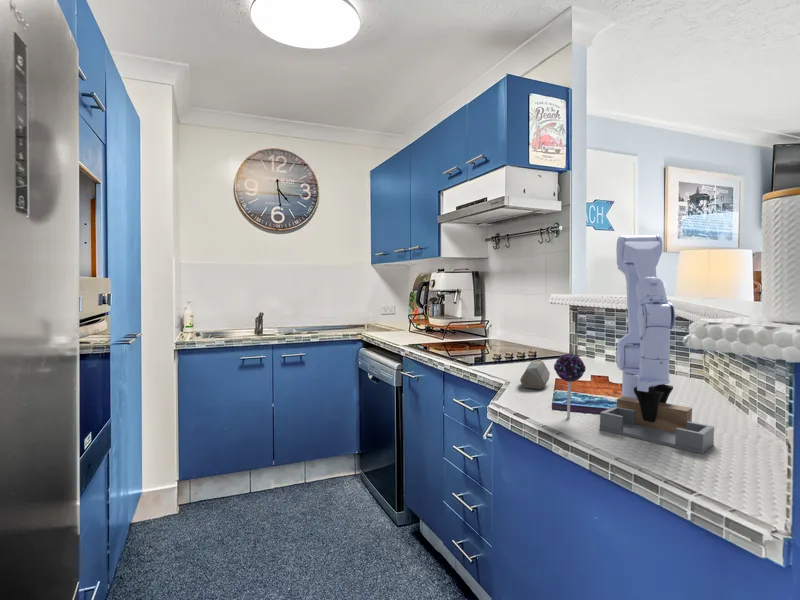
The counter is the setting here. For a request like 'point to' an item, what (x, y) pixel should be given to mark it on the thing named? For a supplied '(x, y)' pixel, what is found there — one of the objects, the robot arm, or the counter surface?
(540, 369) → the stone
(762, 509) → the counter surface
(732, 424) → the counter surface
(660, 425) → the slat
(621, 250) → the robot arm
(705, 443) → the cradle
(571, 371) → the lollipop
